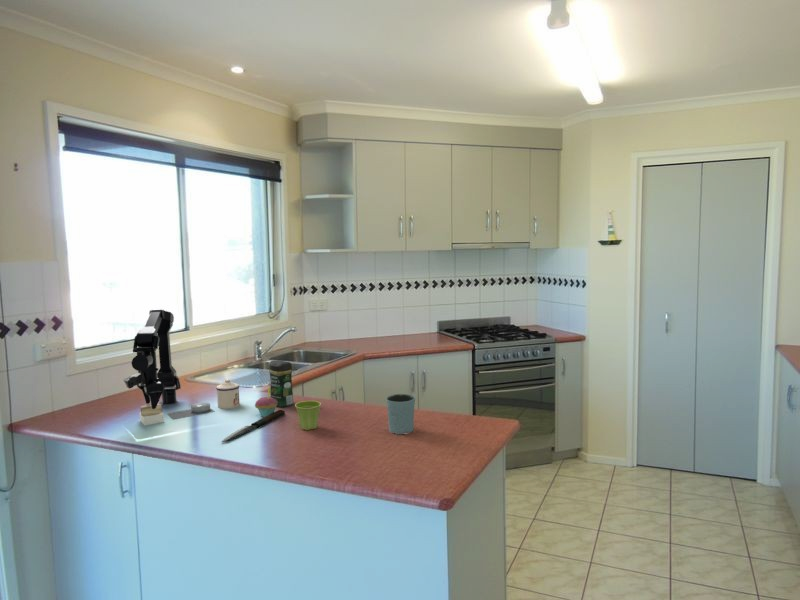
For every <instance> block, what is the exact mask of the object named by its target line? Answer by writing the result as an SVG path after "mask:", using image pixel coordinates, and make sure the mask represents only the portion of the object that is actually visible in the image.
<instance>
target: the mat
mask: <svg viewBox="0 0 800 600" xmlns="http://www.w3.org/2000/svg"><path fill="white" fill-rule="evenodd" d="M214 412H215V410H214V409H212V408H211V407H210V411H208V412H204V413H192V412H191V408H190V409H184V410H180V411H174V412H169V413H166V415H167V416H168V417H170V419H172V421H173V420H179V419H183V418H189V417H193V416H199V415H200V416H201V415H203V414H204V415H205V414H209V413H214Z"/></svg>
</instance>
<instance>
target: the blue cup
mask: <svg viewBox="0 0 800 600" xmlns="http://www.w3.org/2000/svg"><path fill="white" fill-rule="evenodd" d="M385 401H386V407H387V420H388V432H389V433H390V432H392V433H396V434H395V435H397V434H404V433H410V432H412V431H413V432H414V427H415V423H414V419H415V404H416V403H415V401H416V397H415V395H413V394H409V393H408V394H407V393H395V394H390V395H389V396H386V398H385ZM413 432H412V433H413ZM392 433H391V434H392ZM410 434H411V433H410Z"/></svg>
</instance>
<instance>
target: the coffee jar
mask: <svg viewBox="0 0 800 600" xmlns="http://www.w3.org/2000/svg"><path fill="white" fill-rule="evenodd" d="M268 365H269V366H268V371H269V377H270V379H269V380H270V384H269V386H270V395H269V397H272V398H274V399H275V400H276V401H277V402H278V404H277V406H276V407H280V408H282V407H283V408H284V407H290V406H291V405H292V404H294V392H293V382H292V380H293V379H292V378H293V377H292V374H293V366H292V362H289V361H284V360H279V359H277V360H272V361H270V363H269V364H268ZM289 405H290V406H289Z"/></svg>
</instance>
